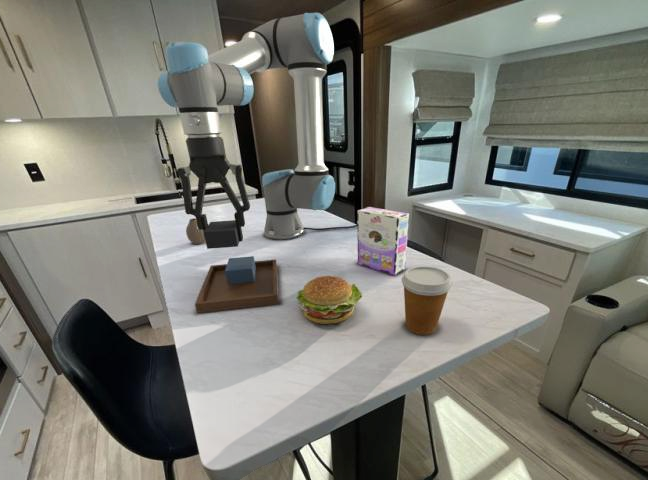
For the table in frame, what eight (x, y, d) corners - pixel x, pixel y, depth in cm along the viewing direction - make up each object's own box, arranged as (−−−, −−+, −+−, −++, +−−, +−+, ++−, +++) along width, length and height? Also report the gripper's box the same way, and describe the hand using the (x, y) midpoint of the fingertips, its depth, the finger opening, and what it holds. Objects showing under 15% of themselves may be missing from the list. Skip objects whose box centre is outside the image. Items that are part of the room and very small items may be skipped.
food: (313, 336, 66) (310, 303, 62) (291, 305, 77) (288, 275, 73) (370, 319, 70) (371, 287, 66) (342, 292, 82) (342, 263, 78)
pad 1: (241, 235, 83) (238, 219, 81) (237, 246, 75) (234, 229, 73) (213, 237, 82) (210, 221, 80) (207, 248, 74) (203, 232, 72)
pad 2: (255, 268, 94) (253, 256, 92) (254, 281, 86) (252, 268, 84) (231, 271, 93) (228, 258, 91) (227, 284, 85) (224, 271, 83)
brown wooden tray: (277, 266, 97) (276, 259, 96) (278, 304, 78) (277, 295, 76) (212, 273, 95) (210, 265, 93) (197, 313, 75) (194, 304, 74)
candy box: (405, 269, 93) (410, 212, 85) (394, 276, 89) (398, 217, 81) (368, 258, 101) (369, 205, 93) (356, 263, 97) (356, 209, 89)
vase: (209, 243, 118) (204, 220, 114) (189, 246, 115) (183, 223, 111) (207, 238, 123) (202, 215, 119) (188, 241, 121) (182, 218, 117)
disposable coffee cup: (415, 344, 62) (422, 290, 56) (389, 320, 70) (392, 270, 64) (454, 332, 65) (464, 279, 59) (425, 310, 73) (431, 262, 67)
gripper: (147, 138, 63) (178, 249, 74) (250, 135, 65) (265, 242, 77) (159, 137, 69) (186, 239, 81) (252, 134, 72) (266, 233, 83)
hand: (225, 240), depth 79 cm, fingers closed on pad 1, 7 cm apart
